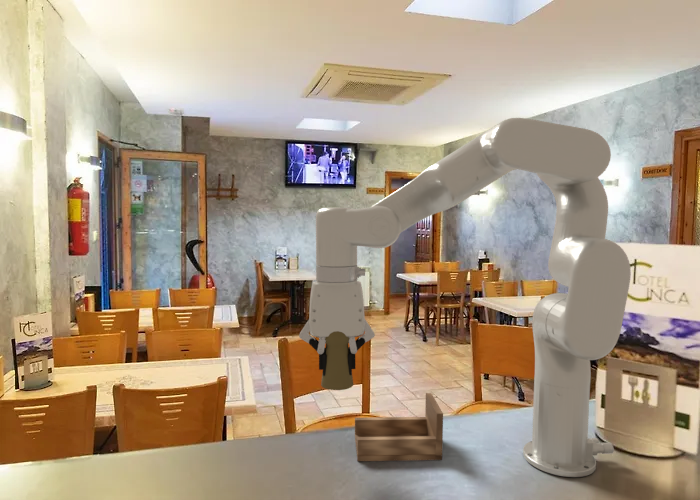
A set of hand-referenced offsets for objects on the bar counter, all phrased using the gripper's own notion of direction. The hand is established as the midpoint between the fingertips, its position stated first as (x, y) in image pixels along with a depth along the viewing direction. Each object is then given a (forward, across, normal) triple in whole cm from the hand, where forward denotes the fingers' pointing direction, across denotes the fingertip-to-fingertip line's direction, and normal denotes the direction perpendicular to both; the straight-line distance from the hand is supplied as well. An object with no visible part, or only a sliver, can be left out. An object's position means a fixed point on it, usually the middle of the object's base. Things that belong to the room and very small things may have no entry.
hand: (337, 372), depth 89 cm
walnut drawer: (+17, -12, -5) cm, 21 cm away
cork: (+2, 0, 0) cm, 2 cm away
